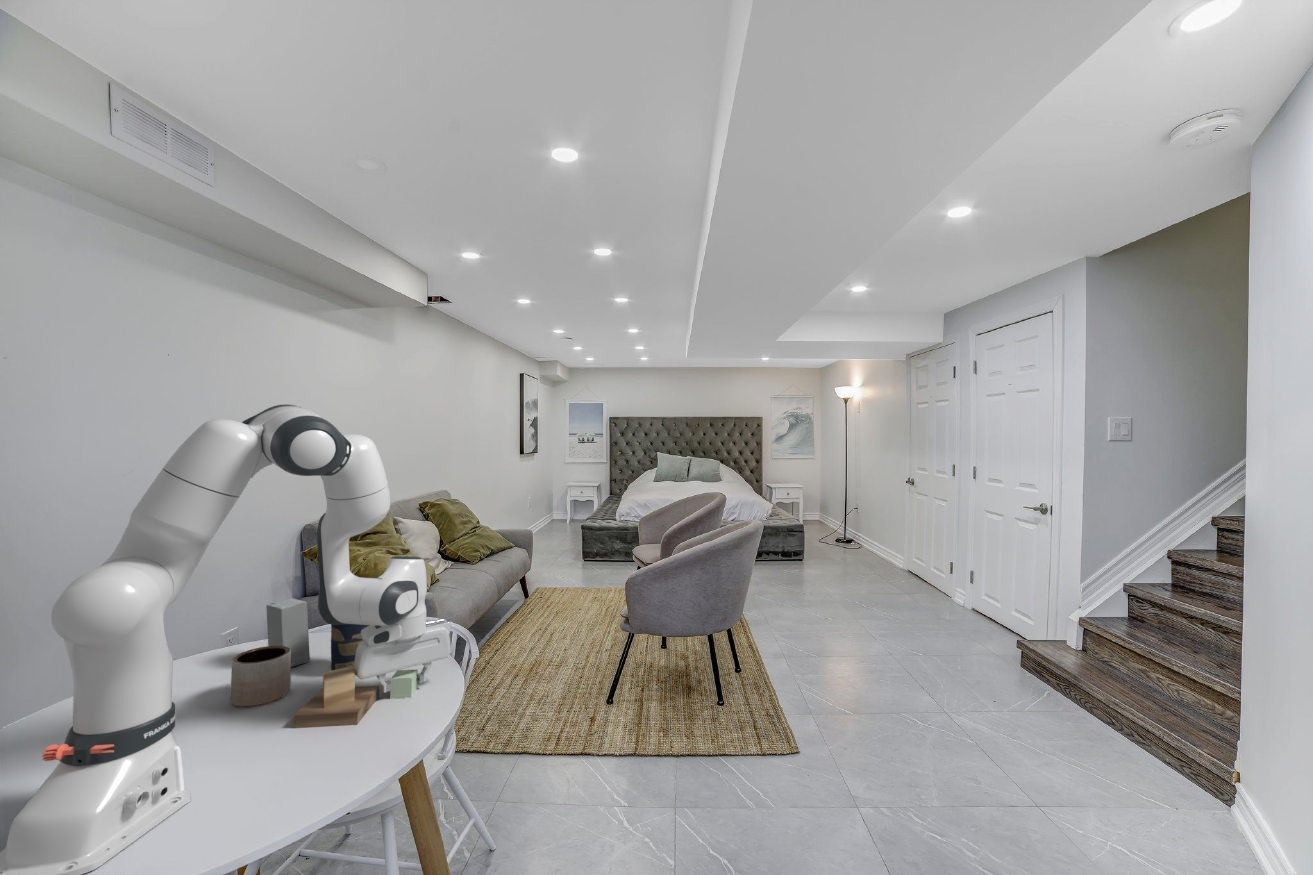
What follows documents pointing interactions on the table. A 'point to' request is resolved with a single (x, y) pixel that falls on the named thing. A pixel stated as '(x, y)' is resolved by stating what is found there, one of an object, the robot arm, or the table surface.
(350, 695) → the oak cube
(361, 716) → the base plate
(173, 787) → the robot arm
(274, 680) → the planter
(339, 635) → the canister
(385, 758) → the table surface
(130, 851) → the table surface
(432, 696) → the table surface
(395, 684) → the green cube
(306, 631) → the skincare box
